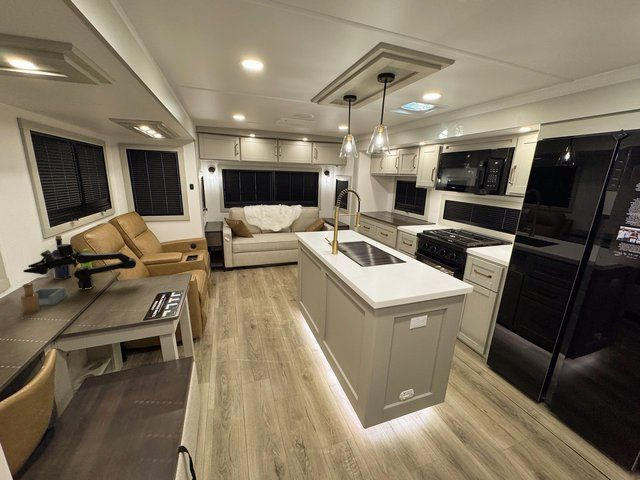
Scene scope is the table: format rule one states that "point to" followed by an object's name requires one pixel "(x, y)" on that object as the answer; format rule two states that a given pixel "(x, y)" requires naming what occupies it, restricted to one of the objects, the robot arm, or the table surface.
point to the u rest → (50, 295)
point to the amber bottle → (30, 300)
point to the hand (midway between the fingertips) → (26, 268)
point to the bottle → (64, 270)
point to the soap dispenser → (88, 262)
